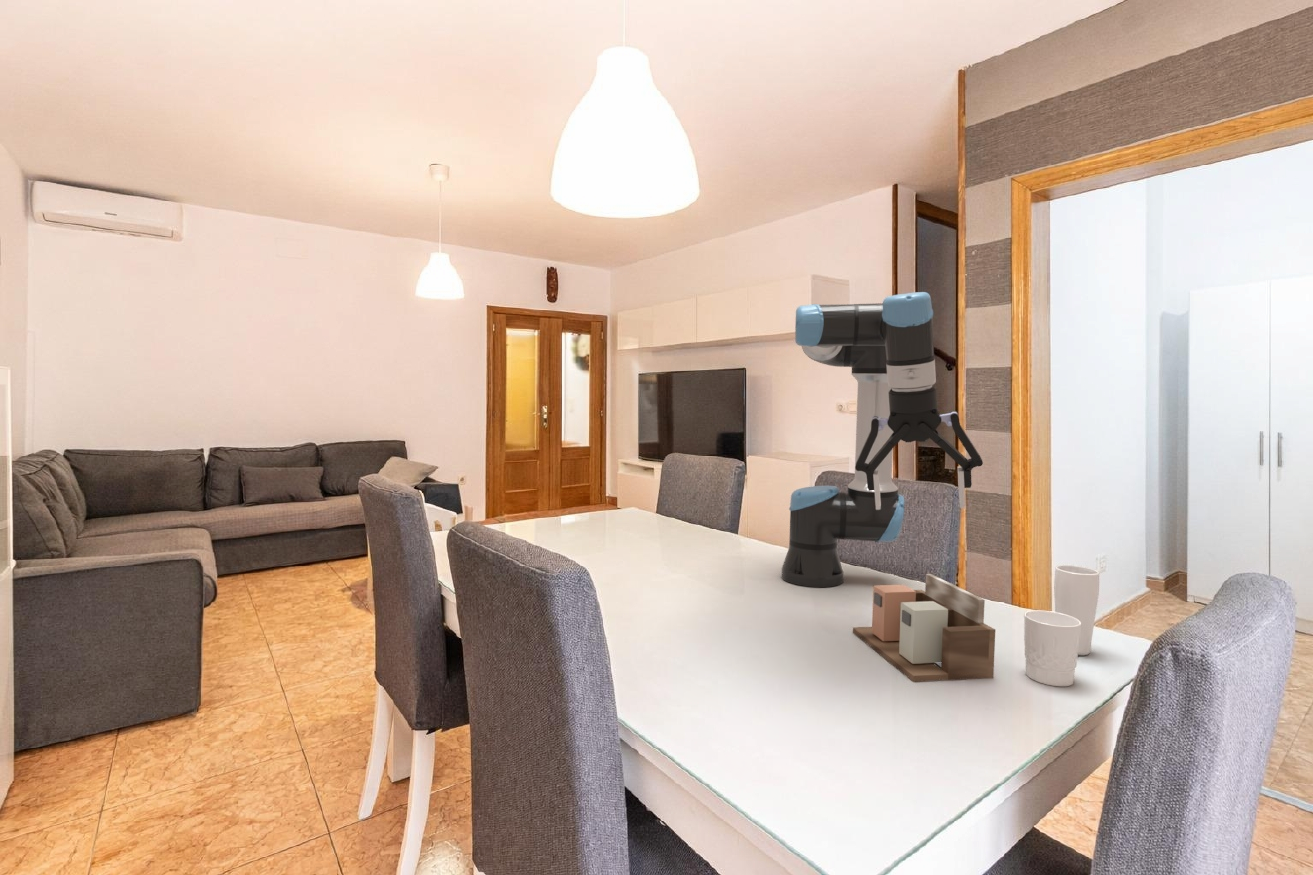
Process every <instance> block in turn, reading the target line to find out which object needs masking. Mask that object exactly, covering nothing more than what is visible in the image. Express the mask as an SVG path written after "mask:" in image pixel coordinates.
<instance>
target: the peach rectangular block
mask: <svg viewBox="0 0 1313 875" xmlns="http://www.w3.org/2000/svg"><path fill="white" fill-rule="evenodd" d="M872 587H873V590H872V591H873V592H872V620H871V621H872V622H871V625H872V626H871V627H872V633H873V634H874V635H876V636H877V637H878V638H880V639H881V640H882V641H900V613H901V602H916V591H914V590H915V589H912V588H910V587H908V586H907V585H905V584H884V585H883V584H882V585H873V586H872Z"/></svg>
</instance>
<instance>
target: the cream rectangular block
mask: <svg viewBox="0 0 1313 875" xmlns="http://www.w3.org/2000/svg"><path fill="white" fill-rule="evenodd" d="M947 625H948V609H946V608H945V607H943V606H941V605H939V604H937V603H936V602H934V601H925V602H901V613H900V643H899V654H901V655H902V656H903V657H904V658H906V659H907V660H908V661H910V662H911V663H912V664H918V663H934V664H935V663H941V659H942V633H943V627H947Z"/></svg>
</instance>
